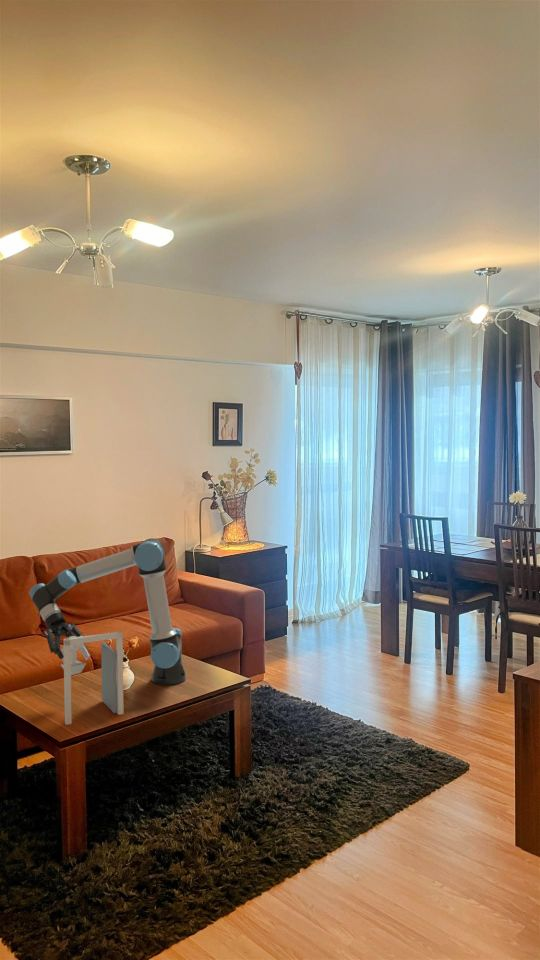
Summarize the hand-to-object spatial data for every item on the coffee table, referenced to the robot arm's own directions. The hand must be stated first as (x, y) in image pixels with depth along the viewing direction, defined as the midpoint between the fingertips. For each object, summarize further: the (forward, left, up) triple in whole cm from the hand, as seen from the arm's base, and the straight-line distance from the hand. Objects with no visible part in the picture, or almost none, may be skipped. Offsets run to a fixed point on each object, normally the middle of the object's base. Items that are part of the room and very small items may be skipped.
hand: (78, 661), depth 279 cm
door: (-10, +10, -17) cm, 22 cm away
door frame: (-2, +18, -18) cm, 25 cm away
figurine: (+1, -3, -6) cm, 6 cm away
